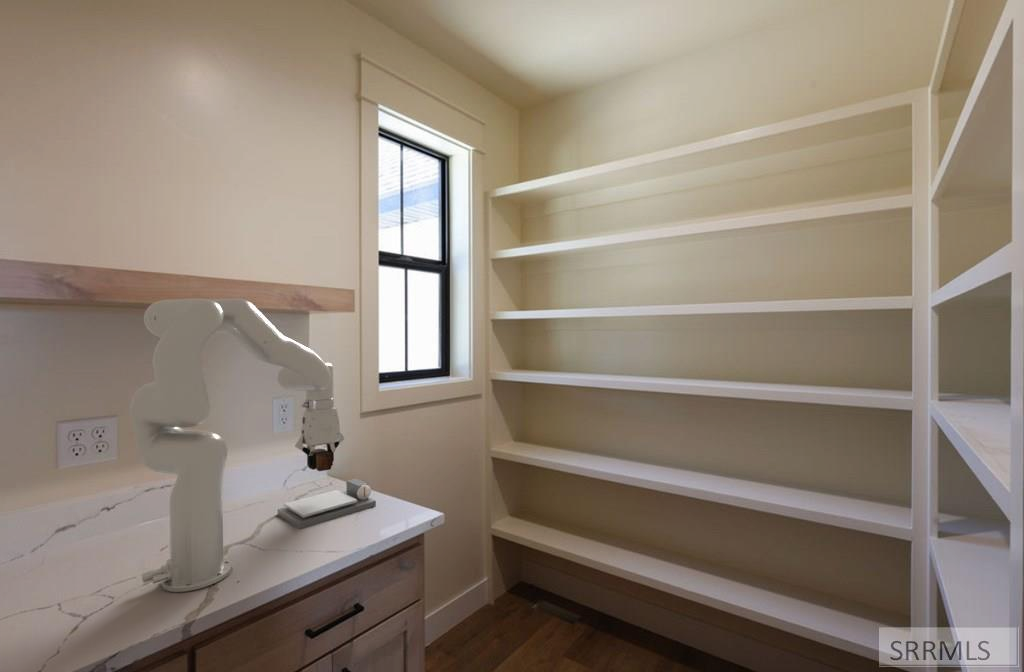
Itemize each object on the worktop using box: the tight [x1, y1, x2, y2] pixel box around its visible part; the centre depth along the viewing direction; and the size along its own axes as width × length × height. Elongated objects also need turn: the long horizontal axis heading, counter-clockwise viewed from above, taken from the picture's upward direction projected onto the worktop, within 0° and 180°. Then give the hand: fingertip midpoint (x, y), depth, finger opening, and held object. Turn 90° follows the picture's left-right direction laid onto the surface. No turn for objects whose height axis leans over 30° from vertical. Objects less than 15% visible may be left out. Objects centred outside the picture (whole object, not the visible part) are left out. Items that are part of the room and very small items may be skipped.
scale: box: [277, 478, 377, 530], centre depth 141 cm, size 23×15×6 cm, turn 137°
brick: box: [314, 448, 334, 472], centre depth 140 cm, size 11×4×5 cm, turn 38°
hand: (320, 466), depth 139 cm, fingers closed on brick, 4 cm apart
